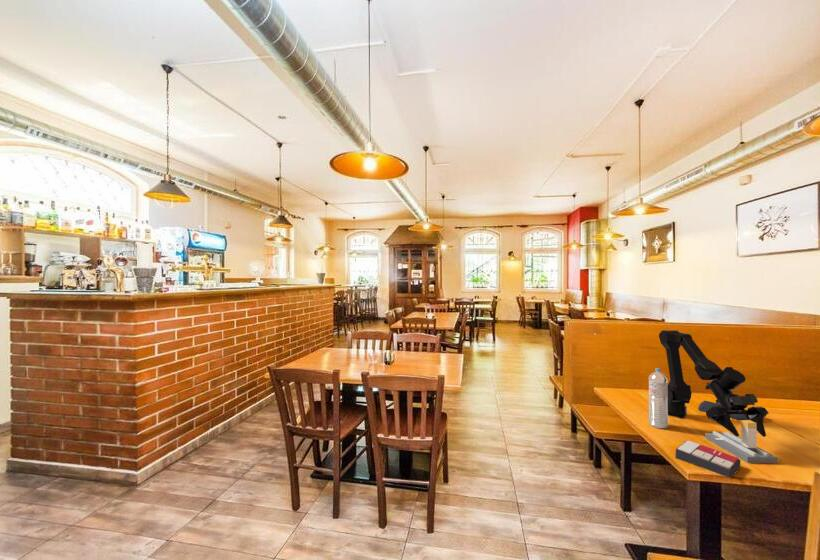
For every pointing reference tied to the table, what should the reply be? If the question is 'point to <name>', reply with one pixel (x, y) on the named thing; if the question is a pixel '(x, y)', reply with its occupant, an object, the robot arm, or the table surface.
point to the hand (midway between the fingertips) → (751, 436)
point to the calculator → (708, 458)
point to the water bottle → (658, 400)
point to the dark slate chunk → (707, 405)
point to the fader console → (740, 448)
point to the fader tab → (749, 434)
